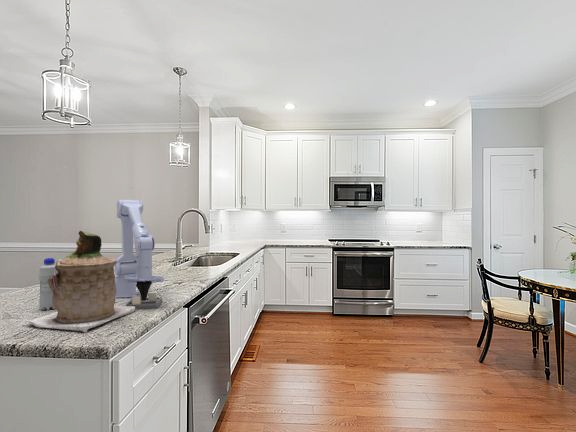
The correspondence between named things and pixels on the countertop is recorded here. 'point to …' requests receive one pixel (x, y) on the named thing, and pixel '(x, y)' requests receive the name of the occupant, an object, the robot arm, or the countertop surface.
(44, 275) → the bottle
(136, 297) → the tab
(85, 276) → the cookie jar
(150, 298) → the tab
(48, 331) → the countertop surface
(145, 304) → the tray
